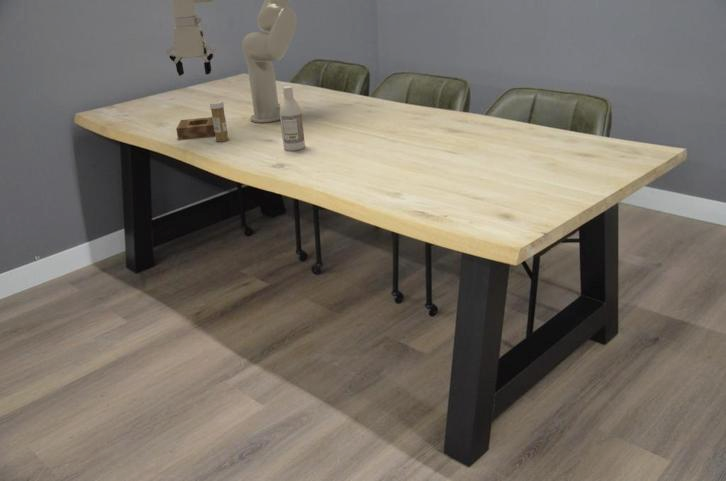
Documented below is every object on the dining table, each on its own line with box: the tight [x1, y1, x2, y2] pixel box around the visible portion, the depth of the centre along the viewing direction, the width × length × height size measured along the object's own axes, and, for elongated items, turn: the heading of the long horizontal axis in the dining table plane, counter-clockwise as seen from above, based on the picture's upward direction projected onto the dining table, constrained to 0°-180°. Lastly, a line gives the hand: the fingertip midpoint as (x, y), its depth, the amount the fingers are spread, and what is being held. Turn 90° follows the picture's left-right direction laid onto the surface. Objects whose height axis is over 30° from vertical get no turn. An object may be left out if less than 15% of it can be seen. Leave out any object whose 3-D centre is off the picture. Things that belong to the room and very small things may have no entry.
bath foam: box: [279, 85, 306, 152], centre depth 231 cm, size 7×7×20 cm
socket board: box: [175, 116, 216, 141], centre depth 260 cm, size 14×12×4 cm
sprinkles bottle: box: [209, 100, 230, 143], centre depth 248 cm, size 5×5×14 cm
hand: (194, 74), depth 245 cm, fingers open, 9 cm apart
